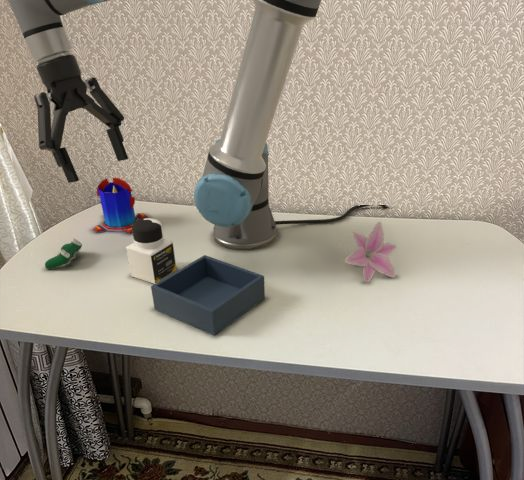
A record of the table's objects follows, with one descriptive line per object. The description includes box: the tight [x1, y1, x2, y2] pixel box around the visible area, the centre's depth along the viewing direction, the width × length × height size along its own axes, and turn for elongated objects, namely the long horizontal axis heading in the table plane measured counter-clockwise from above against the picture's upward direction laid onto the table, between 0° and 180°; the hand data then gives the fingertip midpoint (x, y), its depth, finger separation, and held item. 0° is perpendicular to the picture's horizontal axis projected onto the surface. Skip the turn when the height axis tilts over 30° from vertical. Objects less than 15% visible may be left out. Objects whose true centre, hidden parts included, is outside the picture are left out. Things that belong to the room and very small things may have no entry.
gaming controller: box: [44, 238, 83, 270], centre depth 127 cm, size 9×4×6 cm
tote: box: [150, 254, 266, 336], centre depth 110 cm, size 16×16×5 cm
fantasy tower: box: [92, 177, 149, 235], centre depth 140 cm, size 12×12×12 cm
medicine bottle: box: [125, 217, 177, 285], centre depth 119 cm, size 7×7×12 cm
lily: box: [344, 220, 398, 284], centre depth 119 cm, size 12×12×10 cm
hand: (99, 170), depth 116 cm, fingers open, 13 cm apart
